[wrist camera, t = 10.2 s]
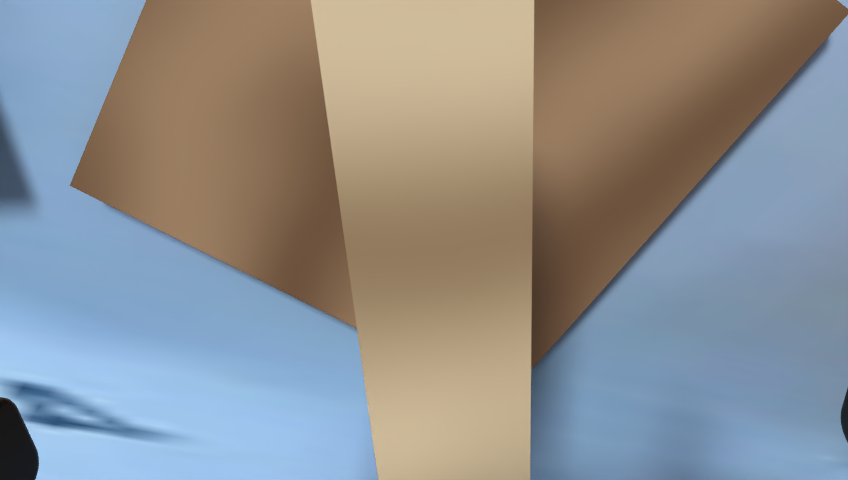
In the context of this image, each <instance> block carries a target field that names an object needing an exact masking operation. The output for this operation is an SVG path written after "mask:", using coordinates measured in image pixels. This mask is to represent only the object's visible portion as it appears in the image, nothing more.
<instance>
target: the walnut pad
mask: <svg viewBox="0 0 848 480" xmlns="http://www.w3.org/2000/svg"><path fill="white" fill-rule="evenodd" d="M847 15H848V9H847V8H846V7H845V6H843V5H842V4H841V3H840V2H838V1H837V0H534V88H533V204H532V319H531V370H532V369H533V367H534V366H535V365H536V364H537V363H538V362H539V361H540V360H541V358H542V357H543V356H544V355H545V354H546V353H547V352H548V351H549V349H550V348H551V347H552V346H553V345H554V344H555V343H556V342H557V340H558V339H559V338H560V337H561V336H562V335H563V334H564V333H565V331H566V330H567V329H568V328H569V327H570V326H571V325H572V324H573V323H574V321H575V320H576V319H577V318H578V317H579V316H580V315H581V314H582V312H583V311H584V310H585V309H586V308H587V307H588V306H589V305H590V303H591V302H592V301H593V300H594V299H595V298H596V297H597V296H598V294H599V293H600V292H601V291H602V290H603V289H604V288H605V287H606V285H607V284H608V283H609V282H610V281H611V280H612V279H613V278H614V277H615V275H616V274H617V273H618V272H619V271H620V270H621V269H622V268H623V266H624V265H625V264H626V263H627V262H628V261H629V260H630V259H631V257H632V256H633V255H634V254H635V253H636V252H637V251H638V250H639V248H640V247H641V246H642V245H643V244H644V243H645V242H646V241H647V239H648V238H649V237H650V236H651V235H652V234H653V233H654V232H655V230H656V229H657V228H658V227H659V226H660V225H661V224H662V223H663V222H664V220H665V219H666V218H667V217H668V216H669V215H670V214H671V213H672V211H673V210H674V209H675V208H676V207H677V206H678V205H679V204H680V202H681V201H682V200H683V199H684V198H685V197H686V196H687V195H688V193H689V192H690V191H691V190H692V189H693V188H694V187H695V186H696V184H697V183H698V182H699V181H700V180H701V179H702V178H703V177H704V175H705V174H706V173H707V172H708V171H709V170H710V169H711V168H712V167H713V165H714V164H715V163H716V162H717V161H718V160H719V159H720V158H721V156H722V155H723V154H724V153H725V152H726V151H727V150H728V149H729V147H730V146H731V145H732V144H733V143H734V142H735V141H736V140H737V138H738V137H739V136H740V135H741V134H742V133H743V132H744V131H745V129H746V128H747V127H748V126H749V125H750V124H751V123H752V122H753V121H754V119H755V118H756V117H757V116H758V115H759V114H760V113H761V112H762V110H763V109H764V108H765V107H766V106H767V105H768V104H769V103H770V101H771V100H772V99H773V98H774V97H775V96H776V95H777V94H778V92H779V91H780V90H781V89H782V88H783V87H784V86H785V85H786V83H787V82H788V81H789V80H790V79H791V78H792V77H793V76H794V74H795V73H796V72H797V71H798V70H799V69H800V68H801V67H802V66H803V64H804V63H805V62H806V61H807V60H808V59H809V58H810V57H811V55H812V54H813V53H814V52H815V51H816V50H817V49H818V48H819V46H820V45H821V44H822V43H823V42H824V41H825V40H826V39H827V37H828V36H829V35H830V34H831V33H832V32H833V31H834V30H835V28H836V27H837V26H838V25H839V24H840V23H841V22H842V21H843V19H844V18H845V17H846V16H847ZM70 186H72V187H74V188H76V189H78V190H80V191H82V192H84V193H86V194H88V195H90V196H92V197H94V198H96V199H98V200H100V201H102V202H104V203H106V204H108V205H110V206H112V207H114V208H116V209H118V210H120V211H122V212H124V213H126V214H128V215H130V216H132V217H134V218H136V219H138V220H140V221H142V222H144V223H146V224H148V225H150V226H152V227H154V228H156V229H158V230H160V231H162V232H164V233H166V234H168V235H170V236H172V237H174V238H176V239H178V240H180V241H182V242H184V243H186V244H188V245H190V246H192V247H194V248H196V249H198V250H200V251H202V252H204V253H206V254H209V255H211V256H213V257H215V258H217V259H219V260H221V261H223V262H225V263H227V264H229V265H231V266H233V267H235V268H237V269H239V270H241V271H243V272H245V273H247V274H249V275H251V276H253V277H255V278H257V279H259V280H261V281H263V282H265V283H267V284H269V285H271V286H273V287H275V288H277V289H279V290H281V291H283V292H285V293H287V294H289V295H291V296H293V297H295V298H297V299H299V300H301V301H303V302H305V303H307V304H309V305H311V306H313V307H315V308H317V309H319V310H321V311H323V312H325V313H327V314H329V315H331V316H333V317H335V318H337V319H339V320H341V321H343V322H345V323H347V324H349V325H351V326H353V327H355V328H357V325H356V318H355V311H354V304H353V297H352V289H351V282H350V275H349V268H348V261H347V254H346V247H345V240H344V233H343V226H342V219H341V211H340V204H339V197H338V190H337V183H336V176H335V169H334V162H333V155H332V148H331V140H330V133H329V126H328V119H327V112H326V105H325V98H324V91H323V84H322V77H321V70H320V62H319V55H318V48H317V41H316V34H315V27H314V20H313V13H312V6H311V0H146V2H145V5H144V7H143V10H142V12H141V14H140V17H139V19H138V22H137V24H136V27H135V29H134V31H133V34H132V36H131V39H130V41H129V44H128V46H127V48H126V51H125V53H124V56H123V58H122V61H121V63H120V65H119V68H118V70H117V73H116V75H115V78H114V80H113V82H112V85H111V87H110V90H109V92H108V94H107V97H106V99H105V102H104V104H103V107H102V109H101V111H100V114H99V116H98V119H97V121H96V124H95V126H94V128H93V131H92V133H91V136H90V138H89V141H88V143H87V145H86V148H85V150H84V153H83V155H82V157H81V160H80V162H79V165H78V167H77V170H76V172H75V174H74V177H73V179H72V182H71V184H70Z"/></svg>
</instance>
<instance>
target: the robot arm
mask: <svg viewBox="0 0 848 480" xmlns="http://www.w3.org/2000/svg"><path fill="white" fill-rule="evenodd" d="M841 425H842V429H843V433H844V435H845V438H846V440H847V442H848V389H847V392H846V396H845V399H844V402H843V406H842V410H841ZM38 466H39V458H38V452H37V449H36V447H35V445H34V442H33V440H32V438H31V436H30V434H29V432H28V430H27V427H26V425H25V423H24V421H23V419H22V417H21V414H20V412H19V410H18V408H17V406H16V405H15V404H14V403H13V402H12V401H11V400H9V399H7V398H2V397H0V480H35V479H36V476H37V472H38Z"/></svg>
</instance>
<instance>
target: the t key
mask: <svg viewBox="0 0 848 480" xmlns="http://www.w3.org/2000/svg"><path fill="white" fill-rule="evenodd" d="M311 6H312V13H313V20H314V27H315V34H316V41H317V48H318V55H319V62H320V70H321V77H322V84H323V91H324V98H325V105H326V112H327V119H328V126H329V133H330V140H331V148H332V155H333V162H334V169H335V176H336V183H337V190H338V197H339V204H340V211H341V219H342V226H343V233H344V240H345V247H346V254H347V261H348V268H349V275H350V282H351V289H352V297H353V304H354V311H355V318H356V325H357V332H358V339H359V346H360V353H361V360H362V367H363V375H364V382H365V389H366V396H367V403H368V410H369V417H370V424H371V431H372V438H373V446H374V453H375V460H376V467H377V474H378V480H530V435H531V319H532V204H533V88H534V0H311Z"/></svg>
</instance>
